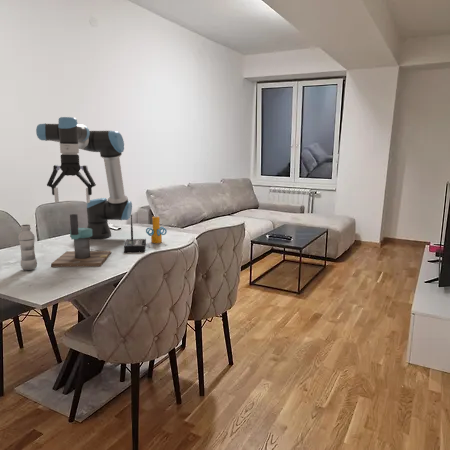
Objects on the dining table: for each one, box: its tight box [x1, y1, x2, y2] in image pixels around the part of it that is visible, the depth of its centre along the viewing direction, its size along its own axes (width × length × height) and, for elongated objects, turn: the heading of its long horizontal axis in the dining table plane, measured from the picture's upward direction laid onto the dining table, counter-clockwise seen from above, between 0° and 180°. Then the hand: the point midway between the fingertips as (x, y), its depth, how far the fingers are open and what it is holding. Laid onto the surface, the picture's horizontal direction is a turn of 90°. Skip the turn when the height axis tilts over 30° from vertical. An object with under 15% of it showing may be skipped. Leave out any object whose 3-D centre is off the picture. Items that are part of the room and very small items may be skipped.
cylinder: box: [145, 215, 168, 244], centre depth 225 cm, size 12×10×15 cm
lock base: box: [50, 237, 112, 268], centre depth 188 cm, size 22×22×12 cm
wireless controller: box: [123, 214, 147, 254], centre depth 212 cm, size 20×14×17 cm
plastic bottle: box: [18, 224, 38, 271], centre depth 171 cm, size 6×7×20 cm
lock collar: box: [69, 213, 92, 240], centre depth 182 cm, size 17×10×12 cm, turn 5°
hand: (72, 202), depth 173 cm, fingers open, 13 cm apart
